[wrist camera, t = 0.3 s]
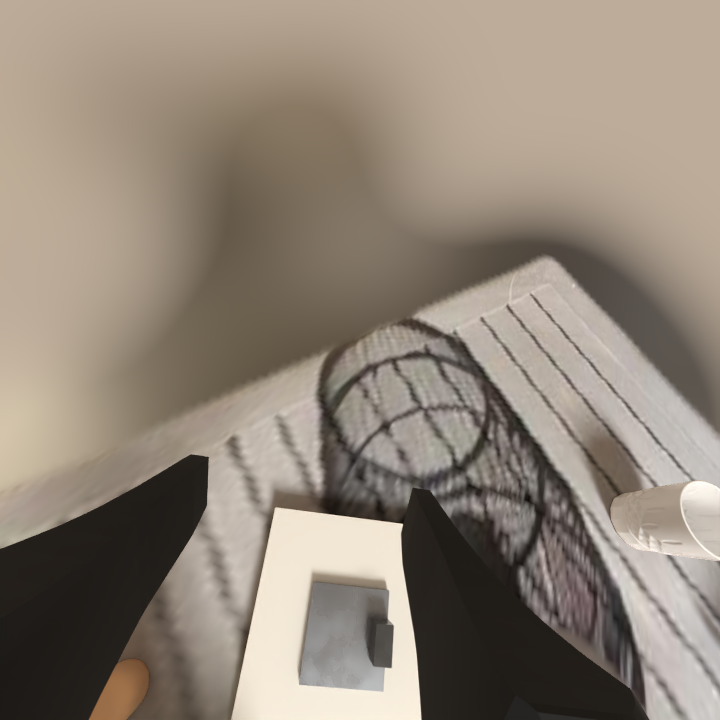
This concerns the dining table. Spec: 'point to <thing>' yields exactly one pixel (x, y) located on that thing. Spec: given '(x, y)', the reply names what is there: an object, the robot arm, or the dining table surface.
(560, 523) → the dining table surface
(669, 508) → the white cup
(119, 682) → the plug peg
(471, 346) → the dining table surface
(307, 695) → the socket plate
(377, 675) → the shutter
